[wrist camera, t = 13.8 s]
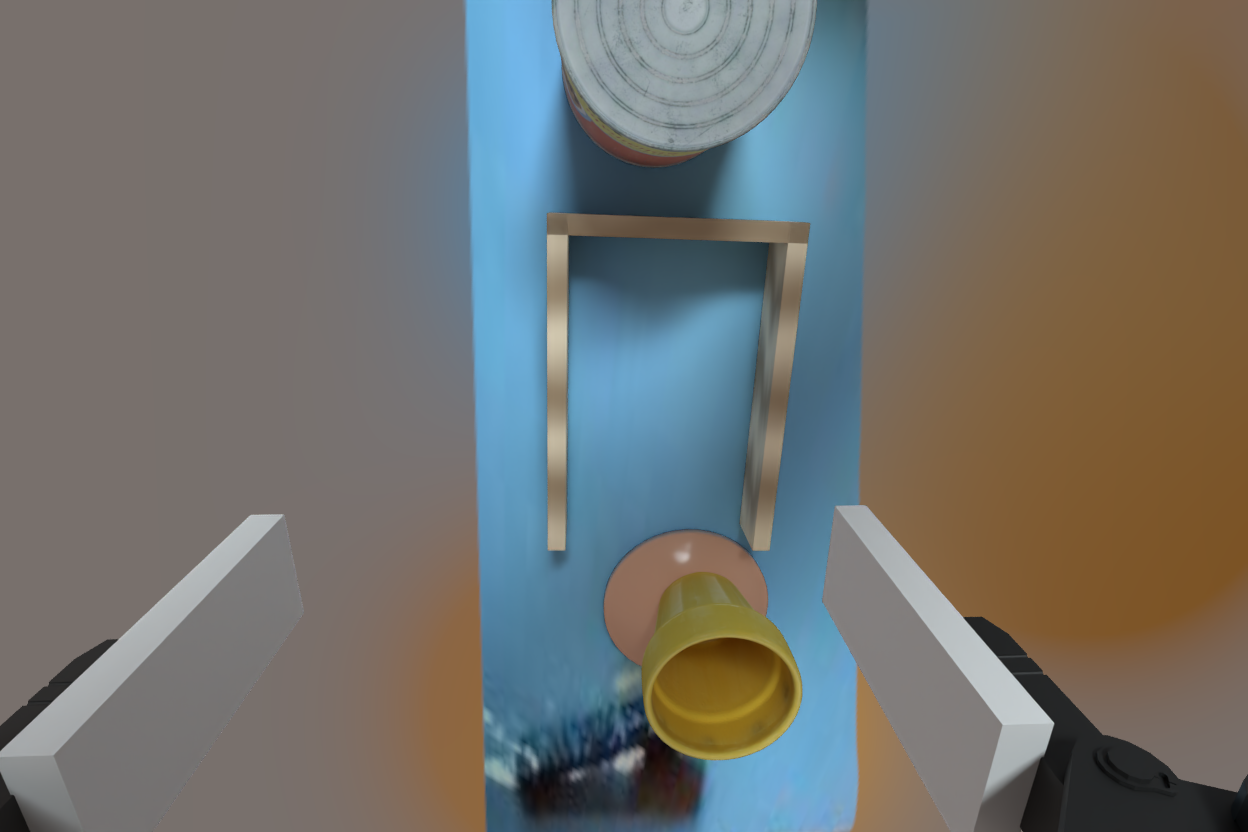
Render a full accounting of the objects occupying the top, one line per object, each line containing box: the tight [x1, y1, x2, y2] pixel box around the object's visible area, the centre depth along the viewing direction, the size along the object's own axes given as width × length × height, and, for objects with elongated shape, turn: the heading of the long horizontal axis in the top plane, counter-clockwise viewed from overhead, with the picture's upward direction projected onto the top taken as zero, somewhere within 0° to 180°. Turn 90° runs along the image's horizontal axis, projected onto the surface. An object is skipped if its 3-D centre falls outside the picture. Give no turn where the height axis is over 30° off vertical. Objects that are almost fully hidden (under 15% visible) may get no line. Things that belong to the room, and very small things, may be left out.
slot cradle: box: [547, 212, 810, 551], centre depth 42 cm, size 22×16×4 cm
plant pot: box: [642, 572, 802, 760], centre depth 44 cm, size 10×10×10 cm
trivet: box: [604, 529, 768, 666], centre depth 49 cm, size 13×13×1 cm
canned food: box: [552, 0, 817, 168], centre depth 32 cm, size 11×11×12 cm
